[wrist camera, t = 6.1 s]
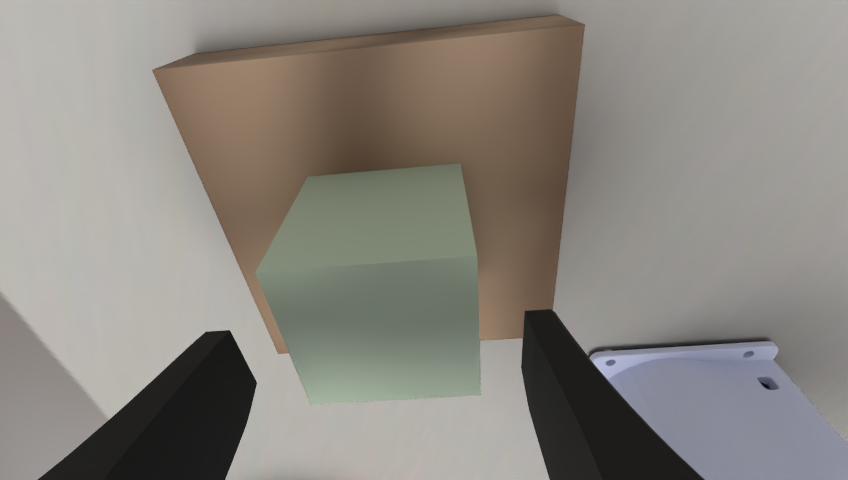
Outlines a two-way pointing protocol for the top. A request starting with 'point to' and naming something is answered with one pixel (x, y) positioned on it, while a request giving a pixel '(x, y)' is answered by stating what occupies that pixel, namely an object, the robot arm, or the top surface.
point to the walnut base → (395, 138)
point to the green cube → (378, 286)
